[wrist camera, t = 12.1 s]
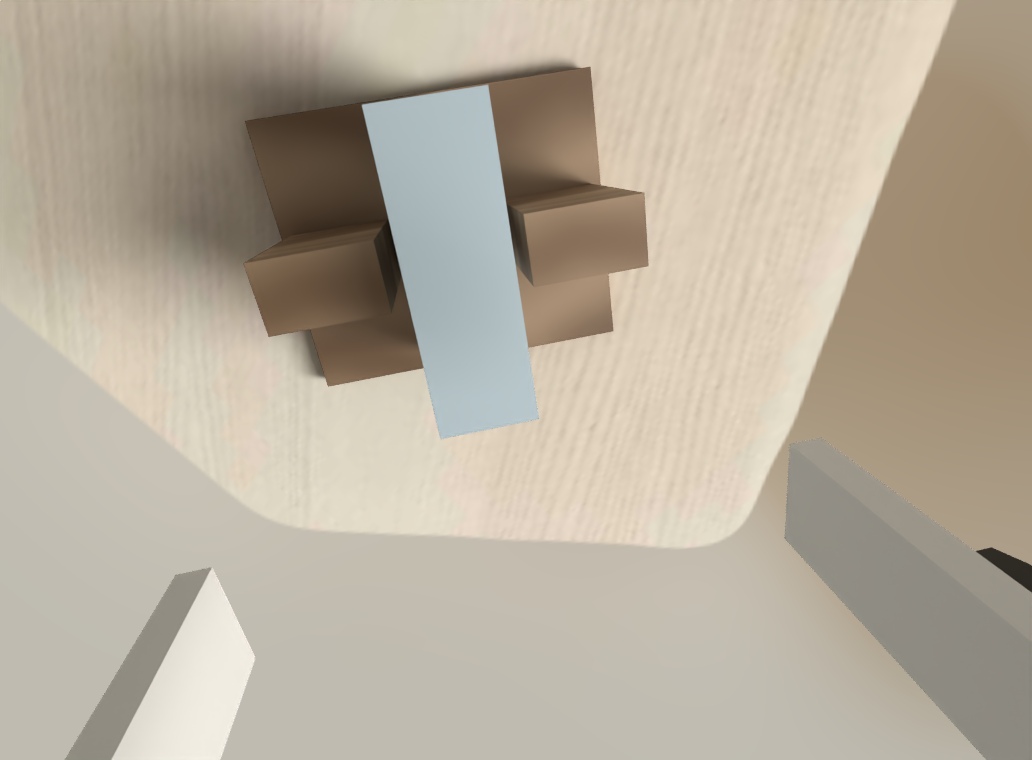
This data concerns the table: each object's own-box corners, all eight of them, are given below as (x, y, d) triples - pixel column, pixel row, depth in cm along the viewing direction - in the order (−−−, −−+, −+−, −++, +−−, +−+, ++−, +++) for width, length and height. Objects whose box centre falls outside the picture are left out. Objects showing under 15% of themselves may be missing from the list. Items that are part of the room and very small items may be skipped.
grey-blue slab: (386, 123, 27) (361, 104, 17) (466, 110, 28) (488, 84, 18) (437, 349, 32) (440, 439, 22) (504, 336, 32) (539, 419, 22)
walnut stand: (252, 122, 28) (173, 108, 19) (584, 70, 29) (648, 34, 20) (331, 378, 33) (297, 455, 25) (607, 325, 34) (665, 380, 26)
